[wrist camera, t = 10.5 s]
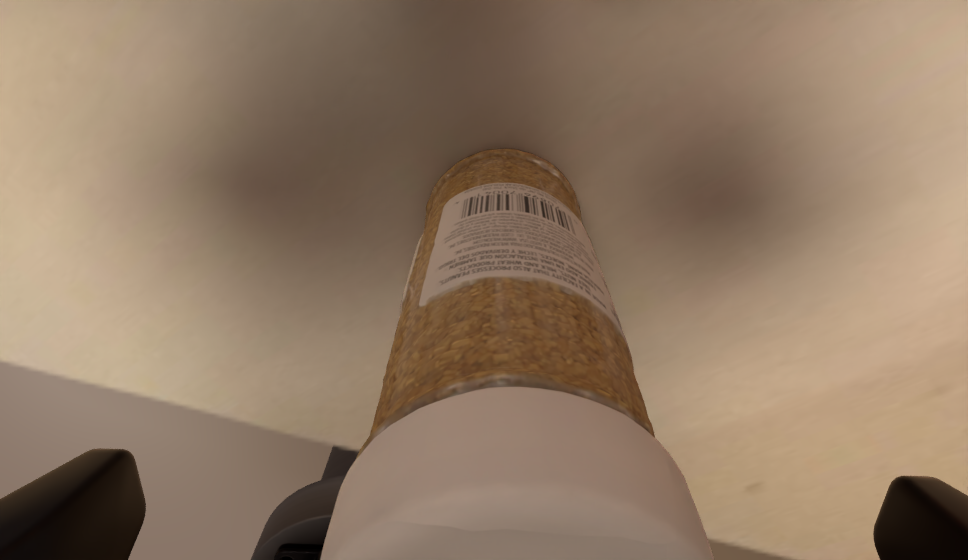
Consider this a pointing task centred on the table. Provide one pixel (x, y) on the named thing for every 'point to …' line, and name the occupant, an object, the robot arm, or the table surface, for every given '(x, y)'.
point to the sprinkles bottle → (511, 395)
